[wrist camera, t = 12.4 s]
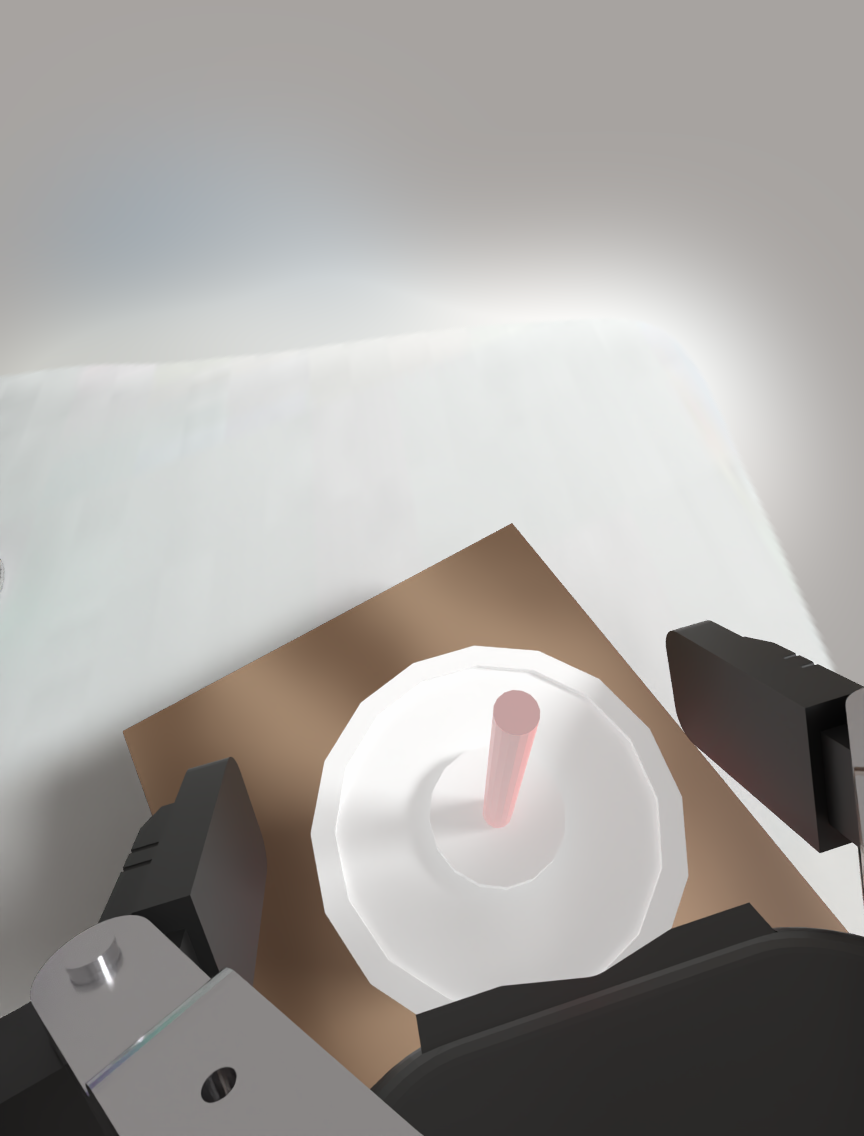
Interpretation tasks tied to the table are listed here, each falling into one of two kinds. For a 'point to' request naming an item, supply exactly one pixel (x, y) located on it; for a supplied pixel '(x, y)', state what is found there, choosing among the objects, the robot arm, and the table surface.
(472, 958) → the beverage cup
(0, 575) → the spray can
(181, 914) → the robot arm
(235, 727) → the walnut shelf stand
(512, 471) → the table surface
